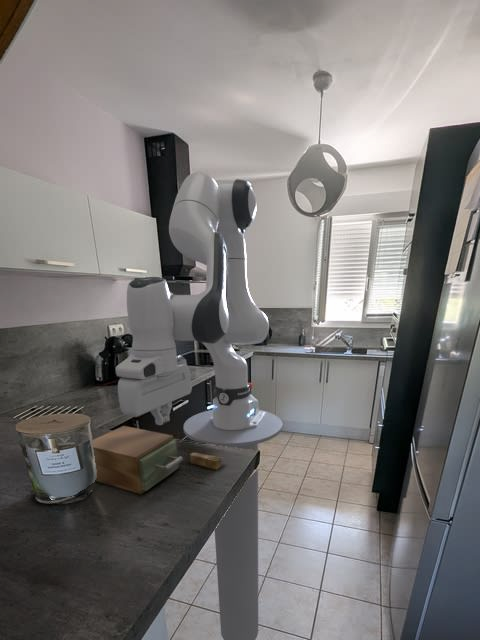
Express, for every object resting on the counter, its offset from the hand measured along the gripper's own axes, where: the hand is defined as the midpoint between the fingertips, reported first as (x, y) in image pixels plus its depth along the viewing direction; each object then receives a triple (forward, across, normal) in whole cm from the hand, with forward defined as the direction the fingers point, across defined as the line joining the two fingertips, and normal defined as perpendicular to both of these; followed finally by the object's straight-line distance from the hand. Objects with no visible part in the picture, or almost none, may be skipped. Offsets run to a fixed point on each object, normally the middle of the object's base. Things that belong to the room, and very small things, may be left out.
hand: (162, 423), depth 80 cm
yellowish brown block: (+16, -12, +3) cm, 20 cm away
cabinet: (+16, 0, -11) cm, 19 cm away
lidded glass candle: (+16, +14, -21) cm, 30 cm away
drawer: (+15, 0, -8) cm, 17 cm away
